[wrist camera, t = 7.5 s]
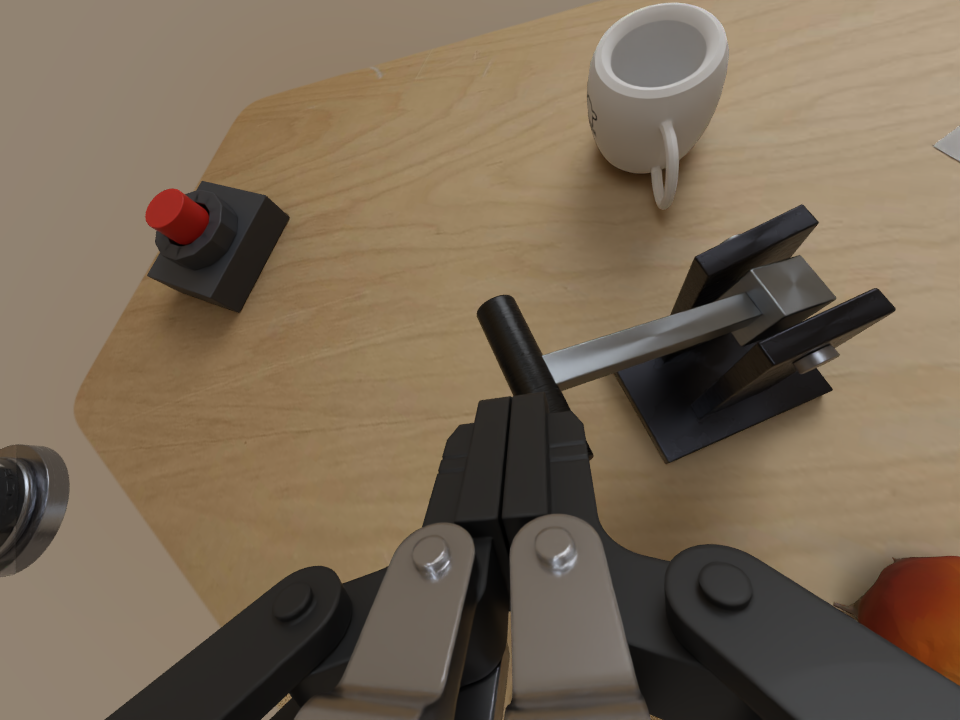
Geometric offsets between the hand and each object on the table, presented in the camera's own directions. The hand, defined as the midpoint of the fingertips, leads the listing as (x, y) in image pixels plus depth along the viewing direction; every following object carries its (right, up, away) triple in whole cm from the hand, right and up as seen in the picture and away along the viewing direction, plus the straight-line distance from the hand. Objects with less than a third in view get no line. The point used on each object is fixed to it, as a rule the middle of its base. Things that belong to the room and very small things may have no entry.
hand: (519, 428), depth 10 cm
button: (-25, +13, +26) cm, 39 cm away
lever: (+6, +2, +7) cm, 9 cm away
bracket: (+13, +1, +18) cm, 22 cm away
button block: (-24, +11, +31) cm, 41 cm away
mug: (+12, +17, +23) cm, 31 cm away
